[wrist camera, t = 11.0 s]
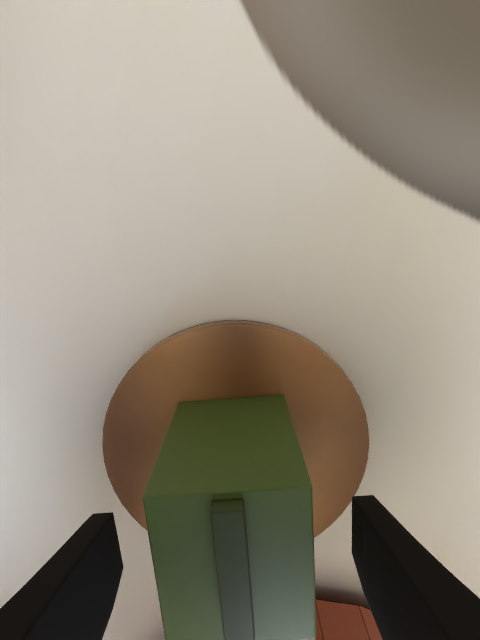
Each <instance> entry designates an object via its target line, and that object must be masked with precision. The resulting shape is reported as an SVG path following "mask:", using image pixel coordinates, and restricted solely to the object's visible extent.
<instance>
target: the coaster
mask: <svg viewBox="0 0 480 640" xmlns="http://www.w3.org/2000/svg"><path fill="white" fill-rule="evenodd" d="M271 395H284V396H285V399H286V403H287V406H288V409H289V412H290V415H291V419H292V422H293V425H294V428H295V432H296V435H297V438H298V441H299V444H300V448H301V451H302V454H303V457H304V461H305V464H306V467H307V470H308V473H309V477H310V480H311V483H312V489H313V528H314V537H316V536H317V535H319V534H320V533H321V532H323V531H324V530H325V529H326V528H328V527H329V526H330V525H331V524H332V523H333V522H334V521H335V520H336V519H337V518H338V517H339V516H340V515H341V514H342V513H343V511H344V510H345V509H346V507H347V506H348V505H349V503H350V502H351V500H352V497H353V496H354V495H355V493H356V492H357V490H358V488H359V485H360V483H361V480H362V478H363V475H364V472H365V468H366V464H367V460H368V449H369V434H368V425H367V420H366V415H365V411H364V408H363V406H362V403H361V400H360V397H359V395H358V394H357V392H356V390H355V388H354V386H353V384H352V383H351V381H350V380H349V379H348V377H347V376H346V375H345V373H344V372H343V371H342V369H341V368H340V367H339V366H338V365H337V364H336V363H335V362H334V361H333V360H332V359H331V358H330V357H329V356H328V355H327V354H326V353H325V352H324V351H323V350H321V349H320V348H319V347H317V346H316V345H315V344H313V343H312V342H310V341H308V340H306V339H305V338H303V337H301V336H299V335H298V334H295V333H293V332H290V331H288V330H285V329H283V328H280V327H277V326H273V325H269V324H265V323H259V322H251V321H221V322H213V323H207V324H203V325H199V326H196V327H192V328H189V329H186V330H184V331H182V332H179V333H177V334H174V335H172V336H171V337H169V338H167V339H165V340H164V341H162V342H160V343H159V344H157V345H156V346H155V347H153V348H152V349H151V350H149V351H148V352H147V353H146V354H144V355H143V356H142V357H141V358H140V359H139V361H138V362H137V363H136V364H135V365H134V366H133V367H132V368H131V369H130V370H129V371H128V373H127V374H126V376H125V377H124V378H123V380H122V381H121V382H120V384H119V385H118V387H117V389H116V391H115V393H114V395H113V397H112V399H111V401H110V404H109V407H108V410H107V413H106V417H105V423H104V428H103V455H104V463H105V466H106V470H107V474H108V477H109V480H110V482H111V484H112V487H113V489H114V491H115V493H116V495H117V496H118V498H119V500H120V501H121V503H122V505H123V506H124V507H125V508H126V510H127V511H128V512H129V513H130V515H131V516H132V517H133V518H134V519H135V520H136V521H137V522H138V523H139V524H140V525H141V526H142V527H144V528H145V529H146V530H147V531H148V529H147V523H146V517H145V511H144V505H143V499H142V497H143V494H144V491H145V489H146V486H147V483H148V481H149V478H150V476H151V473H152V470H153V468H154V465H155V462H156V460H157V457H158V455H159V452H160V449H161V447H162V444H163V442H164V439H165V436H166V434H167V431H168V428H169V426H170V423H171V421H172V418H173V415H174V413H175V410H176V408H177V405H178V402H184V401H199V400H213V399H228V398H242V397H257V396H271Z"/></svg>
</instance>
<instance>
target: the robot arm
mask: <svg viewBox="0 0 480 640" xmlns="http://www.w3.org/2000/svg"><path fill="white" fill-rule="evenodd" d="M352 555H353V558H354V562H355V565H356V568H357V572H358V575H359V578H360V582H361V585H362V588H363V591H364V594H365V597H366V600H367V602H368V605H369V607H370V610H371V612H372V615H373V617H374V620H375V622H376V625H377V627H378V630H379V632H380V635H381V637H382V639H383V640H480V598H478V597H477V596H476V595H475V594H474V593H473V592H472V591H471V590H469V589H468V588H467V587H466V586H465V585H464V584H463V583H462V582H460V581H459V580H458V579H457V578H456V577H455V576H454V575H453V574H452V573H451V572H450V571H448V570H447V569H446V568H445V567H444V566H443V565H442V564H441V563H440V562H439V561H438V560H437V559H436V558H435V557H434V556H433V555H432V554H431V553H430V552H428V551H427V550H426V549H425V548H424V547H423V546H422V545H421V544H420V543H419V542H418V541H417V540H416V539H415V538H414V537H413V536H412V535H411V534H410V533H409V532H408V531H407V530H406V529H405V528H404V527H403V526H402V525H401V524H400V523H399V522H398V521H397V520H396V519H395V518H394V516H393V515H392V514H391V513H390V512H389V511H388V510H387V509H386V508H385V507H384V506H383V505H382V504H381V503H380V502H379V501H378V500H377V499H376V498H375V497H374V496H373V495H368V496H353V497H352ZM122 571H123V563H122V557H121V552H120V547H119V541H118V536H117V531H116V526H115V520H114V515H113V512H112V513H97V514H92V515H91V516H90V517H89V518H88V519H87V520H86V521H85V523H84V524H83V525H82V526H81V527H80V528H79V529H78V530H77V531H76V532H75V533H74V534H73V535H72V536H71V537H70V538H69V539H68V541H67V542H66V543H65V544H64V545H63V546H62V547H61V548H60V549H59V550H58V551H57V552H56V553H55V554H54V555H53V556H52V557H51V558H50V559H49V561H48V562H47V563H46V564H45V565H44V566H43V567H42V568H41V569H40V570H39V571H38V572H37V573H36V574H35V575H34V576H33V577H32V578H31V579H30V580H29V581H28V582H27V583H26V584H25V585H24V586H23V587H22V588H21V589H20V590H19V591H18V592H17V593H16V594H15V595H14V596H13V597H12V598H11V599H10V600H9V601H8V602H7V603H6V604H5V605H4V606H3V607H2V608H0V640H102V638H103V635H104V632H105V630H106V627H107V624H108V621H109V618H110V615H111V613H112V610H113V606H114V602H115V598H116V595H117V591H118V587H119V583H120V579H121V575H122Z"/></svg>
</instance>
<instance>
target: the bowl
mask: <svg viewBox="0 0 480 640" xmlns="http://www.w3.org/2000/svg"><path fill="white" fill-rule="evenodd" d="M315 606H316V639H309V640H383V639H382V637H381V635H380V632H379V630H378V627H377V625H376V622H375V620H374V617H373V615H372V612H371V610H369V609H367V608H364V607H361V606H357V605H350V604H343V603H336V602H330V601H323V600H315Z"/></svg>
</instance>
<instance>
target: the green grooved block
mask: <svg viewBox="0 0 480 640" xmlns="http://www.w3.org/2000/svg"><path fill="white" fill-rule="evenodd" d="M142 499H143V505H144V511H145V517H146V523H147V529H148V535H149V542H150V548H151V554H152V560H153V566H154V572H155V578H156V584H157V590H158V596H159V602H160V608H161V615H162V621H163V627H164V633H165V639H166V640H309V639H316V606H315V567H314V528H313V489H312V483H311V480H310V477H309V473H308V470H307V467H306V464H305V461H304V457H303V454H302V451H301V448H300V444H299V441H298V438H297V435H296V432H295V428H294V425H293V422H292V419H291V415H290V412H289V409H288V406H287V403H286V399H285V396H284V395H271V396H257V397H242V398H228V399H213V400H199V401H184V402H178V405H177V408H176V410H175V413H174V415H173V418H172V421H171V423H170V426H169V428H168V431H167V434H166V436H165V439H164V442H163V444H162V447H161V449H160V452H159V455H158V457H157V460H156V462H155V465H154V468H153V470H152V473H151V476H150V478H149V481H148V483H147V486H146V489H145V491H144V494H143V497H142Z"/></svg>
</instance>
